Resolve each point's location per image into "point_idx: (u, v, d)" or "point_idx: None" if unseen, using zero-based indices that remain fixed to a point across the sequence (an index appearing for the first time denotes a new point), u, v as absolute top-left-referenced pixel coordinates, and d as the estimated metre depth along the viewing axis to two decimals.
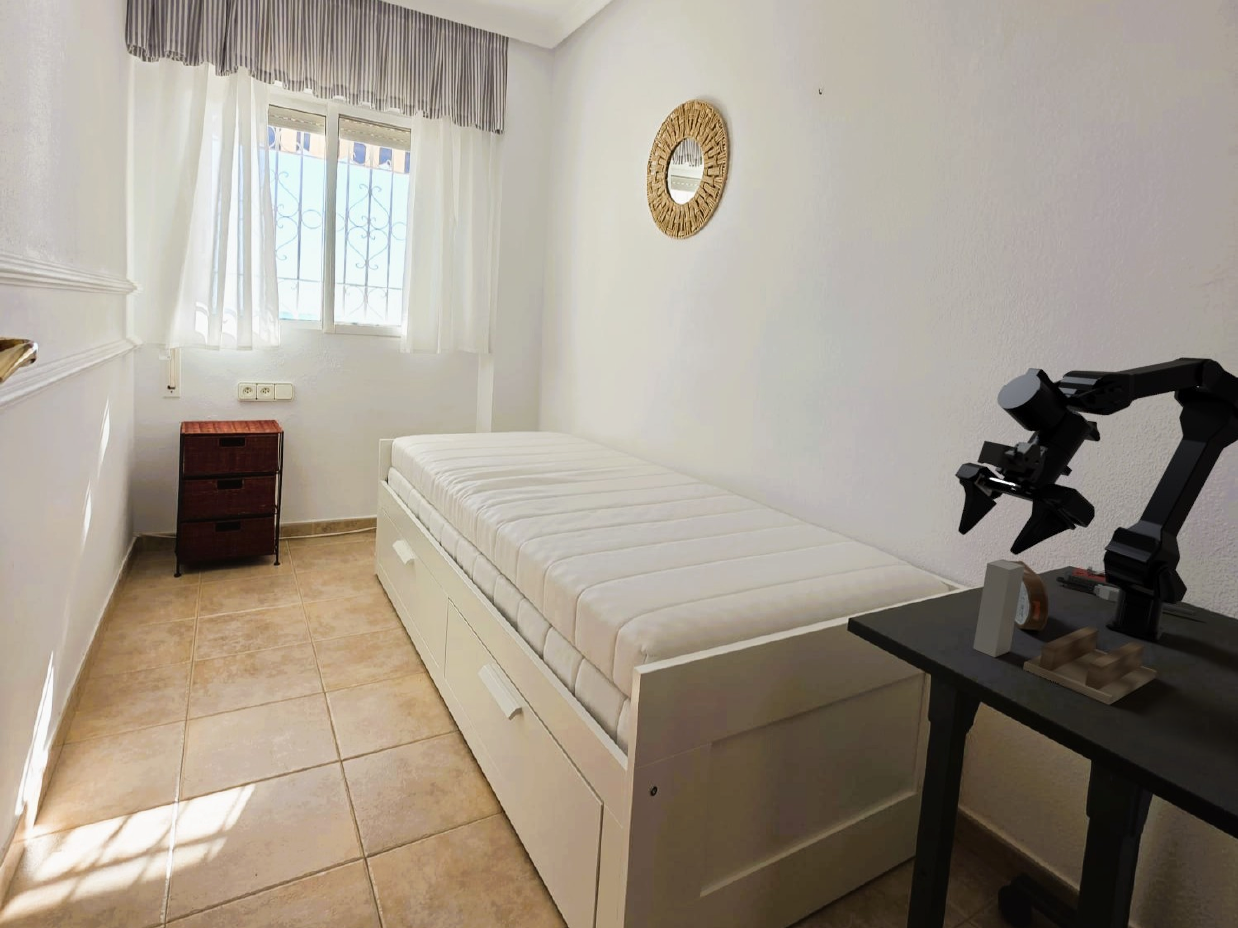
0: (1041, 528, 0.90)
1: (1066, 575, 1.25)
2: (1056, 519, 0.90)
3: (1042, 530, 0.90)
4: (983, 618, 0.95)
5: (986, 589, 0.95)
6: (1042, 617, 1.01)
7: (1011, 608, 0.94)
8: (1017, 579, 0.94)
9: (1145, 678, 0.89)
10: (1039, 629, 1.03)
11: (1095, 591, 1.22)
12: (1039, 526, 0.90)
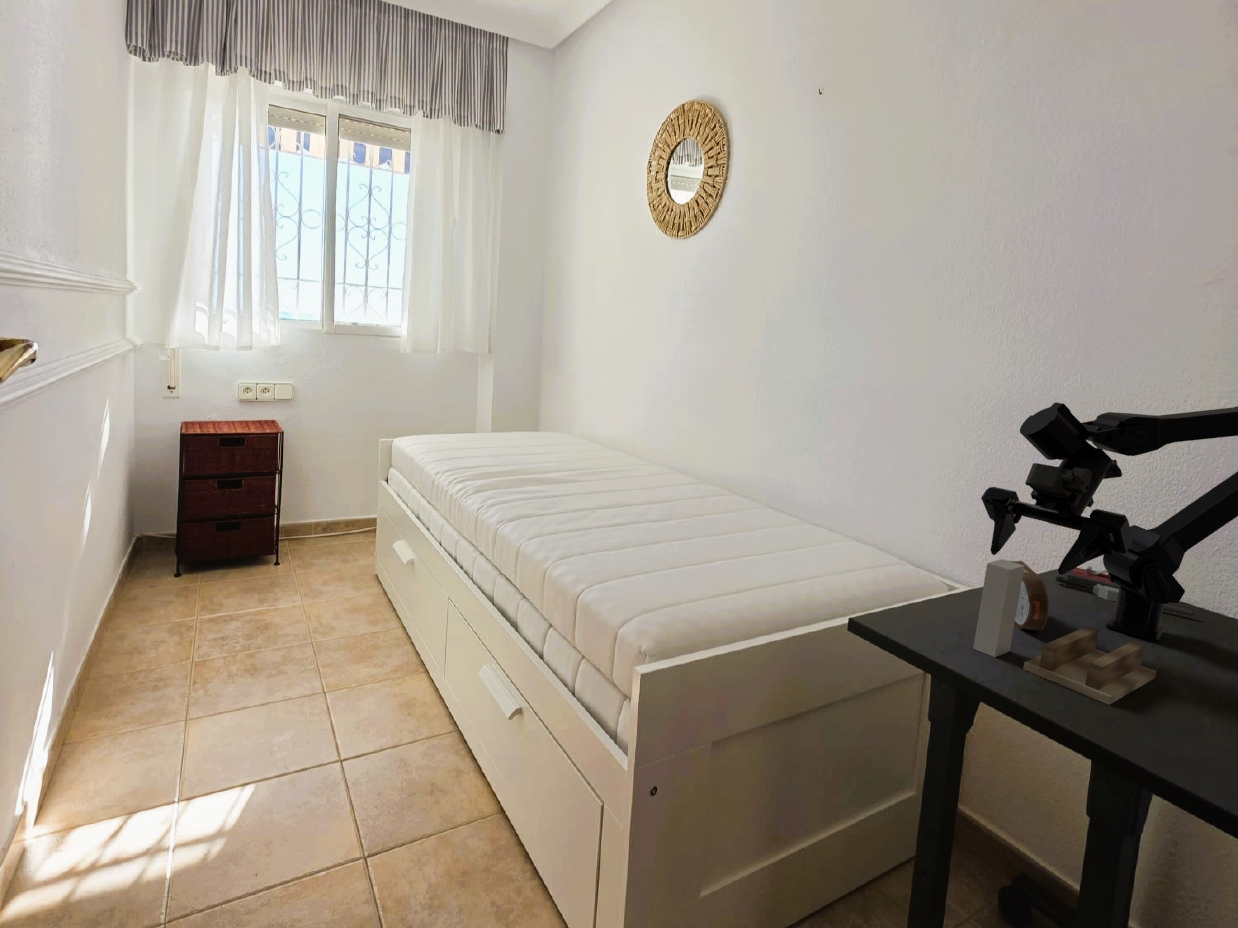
0: (1084, 551, 0.94)
1: (1065, 575, 1.26)
2: (1098, 543, 0.94)
3: (1085, 553, 0.94)
4: (983, 618, 0.95)
5: (986, 589, 0.95)
6: (1042, 617, 1.01)
7: (1011, 608, 0.94)
8: (1017, 579, 0.94)
9: (1145, 678, 0.89)
10: (1039, 629, 1.03)
11: (1094, 591, 1.22)
12: (1084, 549, 0.94)
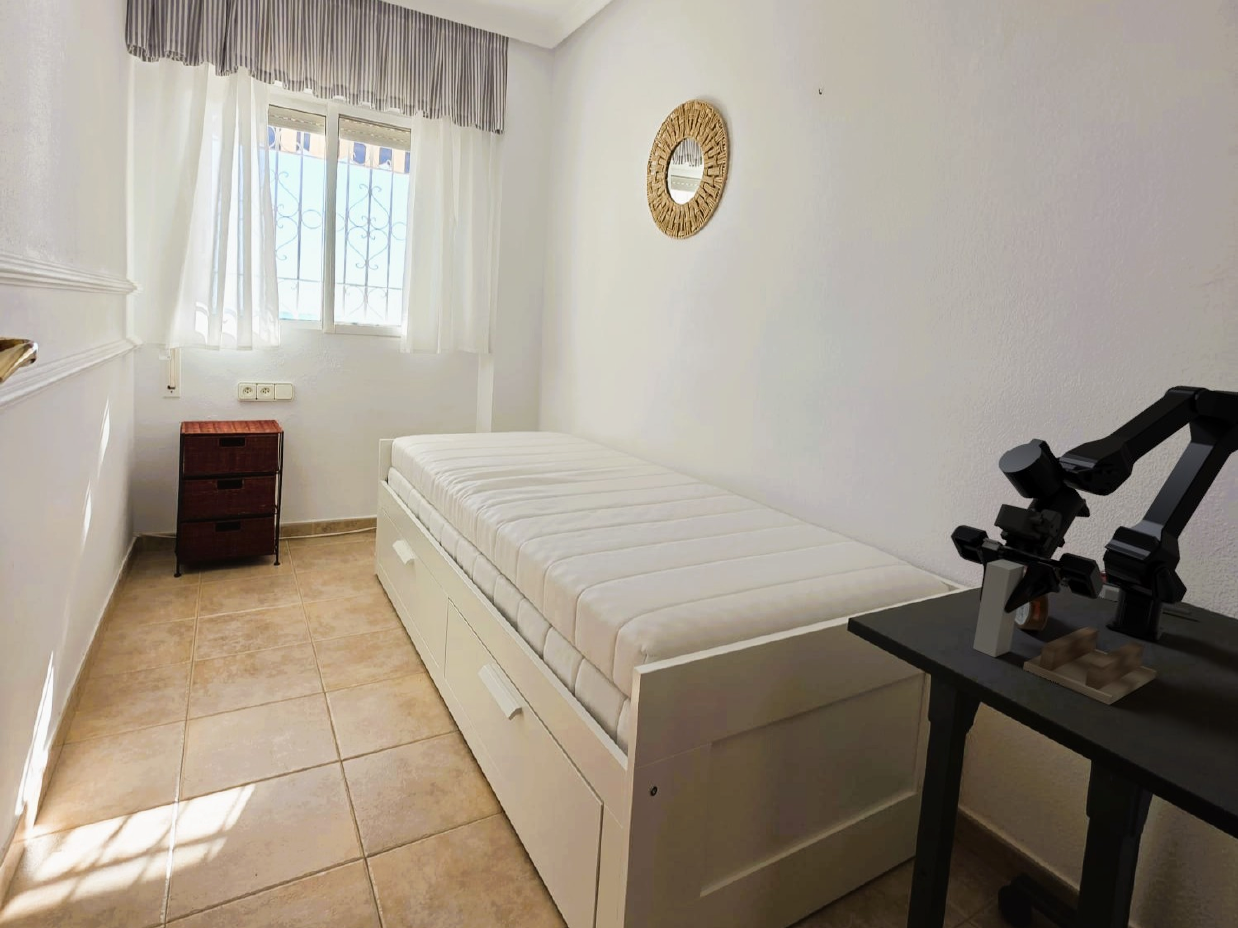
0: (1031, 589, 0.94)
1: None
2: (1045, 581, 0.94)
3: (1032, 591, 0.94)
4: (983, 618, 0.95)
5: (986, 589, 0.95)
6: (1042, 617, 1.01)
7: None
8: (1017, 579, 0.94)
9: (1145, 678, 0.89)
10: (1039, 629, 1.03)
11: None
12: (1030, 586, 0.93)
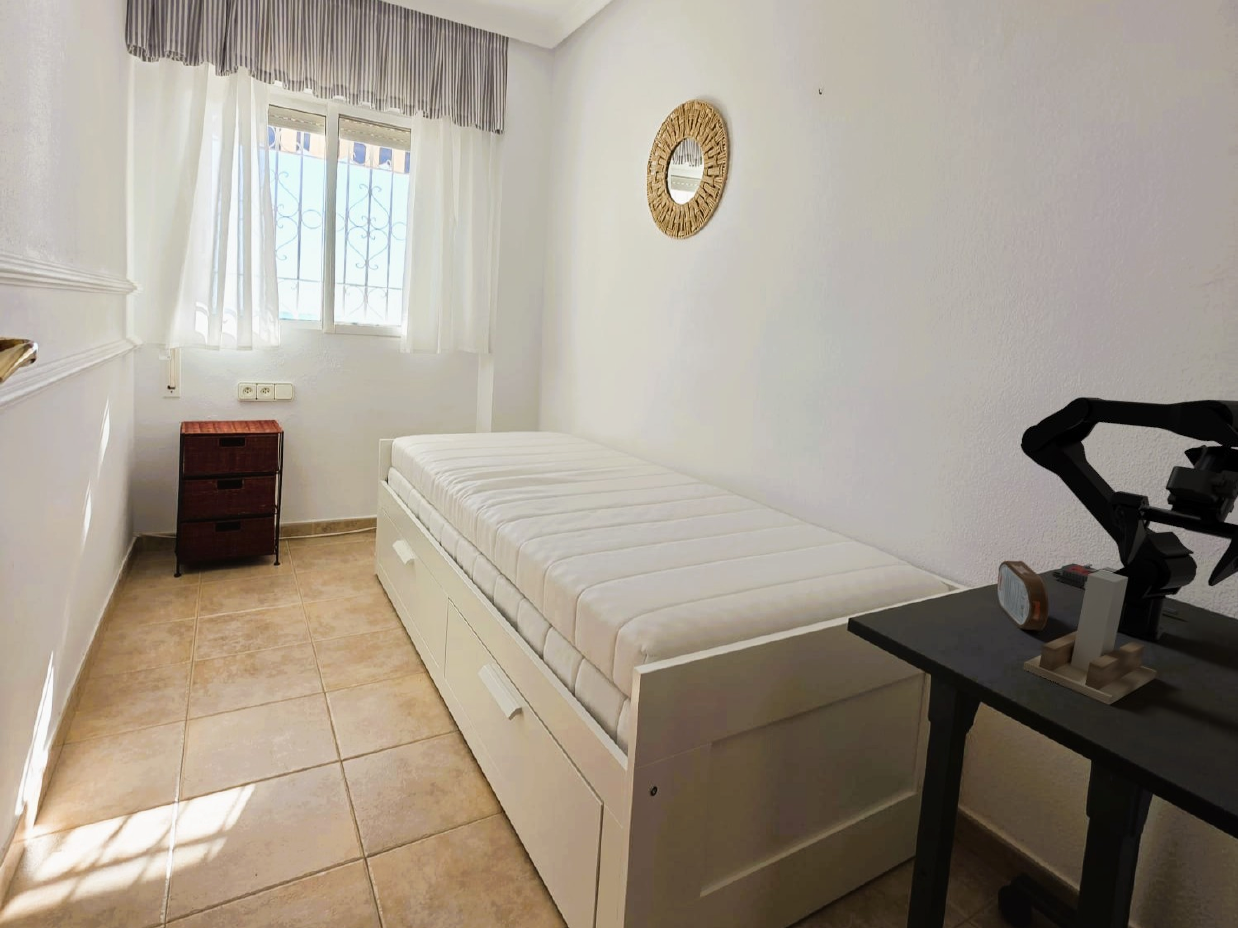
0: (1236, 560, 0.88)
1: (1061, 570, 1.28)
2: None
3: (1236, 562, 0.88)
4: (1083, 633, 0.89)
5: (1087, 602, 0.89)
6: (1042, 617, 1.01)
7: (1114, 622, 0.88)
8: (1120, 592, 0.88)
9: (1145, 678, 0.89)
10: (1039, 629, 1.03)
11: (1085, 586, 1.24)
12: None
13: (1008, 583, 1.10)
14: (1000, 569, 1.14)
